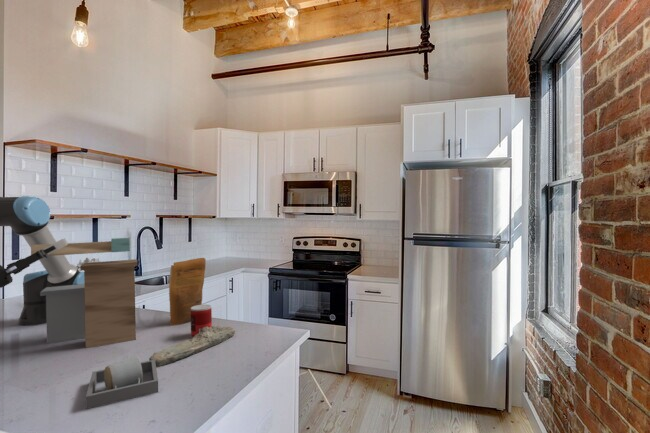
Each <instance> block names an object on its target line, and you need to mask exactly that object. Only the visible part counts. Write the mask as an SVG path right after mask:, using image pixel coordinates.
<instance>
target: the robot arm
mask: <svg viewBox="0 0 650 433" xmlns="http://www.w3.org/2000/svg"><path fill="white" fill-rule="evenodd" d="M50 213H51V209H50V206H49V205H48V204H47V202H46V201H45V200H43V199H42V198H40V197H37V196H29V195H25V196H24V195H23V196H0V227H10V228H11V229H12V231H13V232H14V234H16V235H17V236H22V237H23V238H24V240H25V241H26V243H27V244H28V246H29V248H31V245H44V244H51V245H50V246H48V247H46V248H44V250H43V249H42V250H40V251H37V252H36V253H34V254H32V255H31V254H30V255H28V256H26V257H25V258H20V259H18V260H16V261H13V262H11V263H8V264H7V265H6V268H5V267H4V266H3V265H1V264H0V288H1V289H3V287H6V286H7V285H10V284H11V283H13V280H14V279H13V276H12V275H11V274H13V275H17V274H19V273H22V271H23V270H25V269H27V268H29V267H30V265H32V264H34V263H36V262H38V261H39V262H40V264H41V265H42V266H43V268H44V269H45V270H41V271H34V272H29V273H26V274H24V276H23V281H22V291H23V292H22V293H23V307H22V310H21V313H20V316H19V318H18V325H20V326H33V325H41V324H47V320H46V295H45V296H40V292H41V291H42V290H44V289H45V288H46V287H57V286H67V285H78V284H85V283H84V271H80V272H79V269H77V267H76V266H77V265H75V264H71V263H70V261H69V260H68V258H67V257H66V255H55V256H48V255H49V254H51V253H53V252H55V251H57V250H59V249H61V248H63V247H65V246H67V243H69V242H68V240H67V239H66V238H65V237H64V238H62V239H60V240H58V241H57V240H56V239H55V237H54V235H53V234H52V232H51V230H50V229H49V227H48V226H49V223H50V222H49V221H50V219H51V214H50Z"/></svg>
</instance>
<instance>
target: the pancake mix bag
mask: <svg viewBox="0 0 650 433" xmlns="http://www.w3.org/2000/svg"><path fill="white" fill-rule="evenodd" d="M206 262H207V260H206V258H205V257H198V258H193V259H188V260H182V261H176V262H173V265H171V266H170V271H169V275H170V276H169V280H168V281H169V282H168V295H169V296H168V298H169V299H168V300H169V315H170V322H169V326H180V325H183V324H186V323H187V324H188V323H191V307H193V306H197V305H203V304H202V303H203V289H204V288H203V287H204V282H205V272H206V265H207V264H206Z"/></svg>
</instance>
